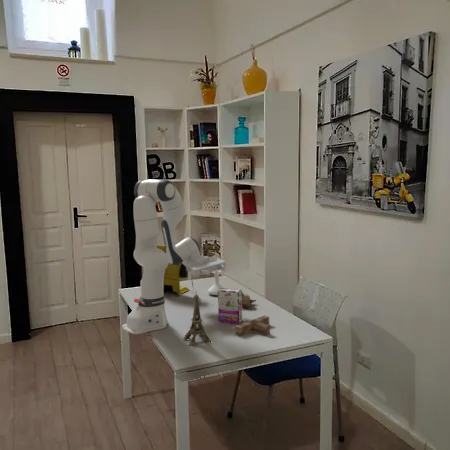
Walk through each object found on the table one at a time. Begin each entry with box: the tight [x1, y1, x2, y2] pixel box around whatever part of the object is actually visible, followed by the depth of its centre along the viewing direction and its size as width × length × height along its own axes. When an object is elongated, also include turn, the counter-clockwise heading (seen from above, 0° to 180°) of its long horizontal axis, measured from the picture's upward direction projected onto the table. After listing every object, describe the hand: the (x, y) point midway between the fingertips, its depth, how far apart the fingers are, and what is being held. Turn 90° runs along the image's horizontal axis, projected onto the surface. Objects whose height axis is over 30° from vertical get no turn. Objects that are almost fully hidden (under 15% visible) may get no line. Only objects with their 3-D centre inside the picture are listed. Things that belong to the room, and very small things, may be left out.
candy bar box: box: [217, 287, 243, 325], centre depth 225 cm, size 11×5×16 cm, turn 68°
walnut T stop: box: [234, 315, 271, 337], centre depth 212 cm, size 20×11×4 cm, turn 133°
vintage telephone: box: [157, 244, 195, 297], centre depth 276 cm, size 31×14×30 cm, turn 63°
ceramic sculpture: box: [242, 291, 257, 308], centre depth 249 cm, size 11×9×15 cm
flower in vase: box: [207, 252, 225, 296], centre depth 272 cm, size 13×11×25 cm
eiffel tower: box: [183, 292, 212, 347], centre depth 202 cm, size 11×11×25 cm
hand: (216, 271), depth 230 cm, fingers open, 8 cm apart
